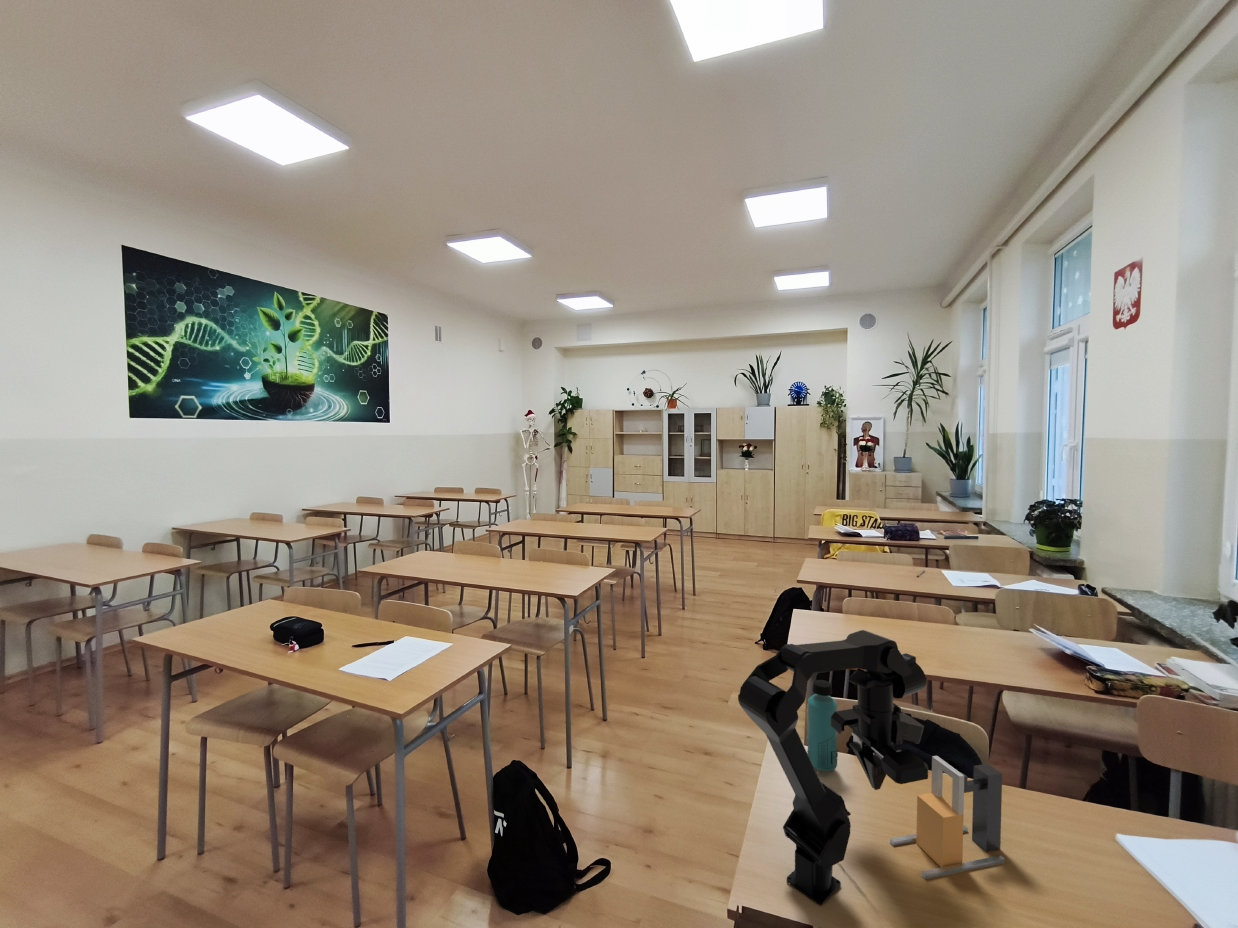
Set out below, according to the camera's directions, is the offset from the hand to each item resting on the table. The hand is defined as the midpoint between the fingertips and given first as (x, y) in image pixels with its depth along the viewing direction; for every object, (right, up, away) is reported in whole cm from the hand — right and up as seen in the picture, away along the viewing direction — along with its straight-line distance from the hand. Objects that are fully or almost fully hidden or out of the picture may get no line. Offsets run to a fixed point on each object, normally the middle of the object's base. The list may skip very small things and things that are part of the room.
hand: (876, 788), depth 98 cm
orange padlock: (+10, -11, -2) cm, 15 cm away
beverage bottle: (0, -11, +25) cm, 27 cm away
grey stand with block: (+13, -12, -1) cm, 17 cm away
